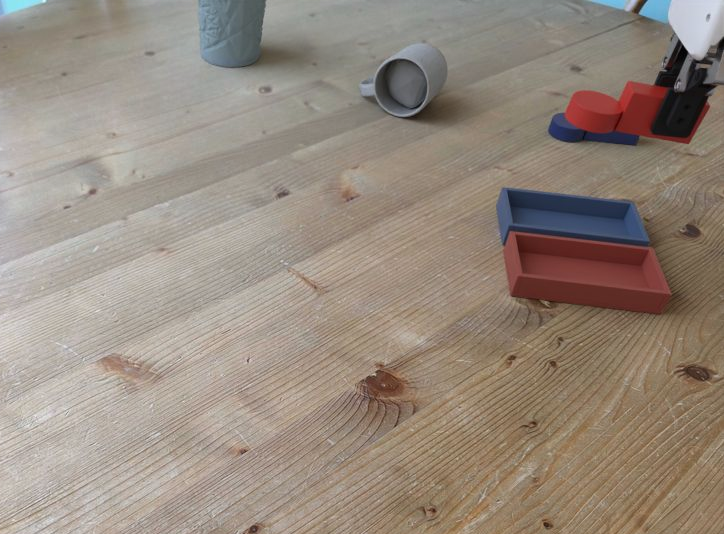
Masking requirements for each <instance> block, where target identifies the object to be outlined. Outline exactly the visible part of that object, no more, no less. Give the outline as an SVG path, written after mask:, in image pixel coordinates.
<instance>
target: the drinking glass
mask: <svg viewBox="0 0 724 534" xmlns="http://www.w3.org/2000/svg"><path fill="white" fill-rule="evenodd" d="M266 2H267V0H197V8H198V10H197V16H198V27H199V28H198V30H199V34H198V35H199V51H200V57H201V59H203V60H204V61H205V62H207V63H208V64H211V65H214V66H217V67H224V68H241V67H246V66H250V65H253V64H254V63H256V62H257V61H258V59H259V57H260V55H261V42H262V39H263V29H264V28H263V25H264V18H265V12H266V10H265V9H266V6H267V3H266Z"/></svg>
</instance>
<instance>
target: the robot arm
mask: <svg viewBox="0 0 724 534" xmlns="http://www.w3.org/2000/svg"><path fill="white" fill-rule="evenodd" d="M667 20H668V22H669V24H670V26H671V28H672V36H671V37H670V43H669V45H668V48H667V50H666V51H665V54H664V56H663V59H662V61H661V65H660V66H661V70H659V71H658V73H657V76H656V79H655V81H654V83H653V85H655V86H661V87H667V88H668V90H667V92H666V94H665V96H664V99H663V101H662V103H661V105H660V107H659V110H658V112H657V114H656V116H655V119H654V121H653V123H652V125H651V128H650V130H651V132H652V134H654V135H660V136H669V137H678V138H687V137H689V136H690V135H691V132H692V130H693V128H694V126H695V124H696V122H697V120H698V118H699V116H700V114H701V112H702V110H703V108H704V106H705V104H706V102H707V101H708V100H709V99H710V97H712V96H713V95H714V93H715V91H716V89H717V87H718V86H719V87H721V86H724V0H671V1H670V4H669V8H668V11H667ZM710 49H712V50H716V52H709V50H710ZM702 65H709V67H708V66H707V67H701V66H702Z"/></svg>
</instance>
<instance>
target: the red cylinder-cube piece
mask: <svg viewBox="0 0 724 534" xmlns="http://www.w3.org/2000/svg"><path fill="white" fill-rule="evenodd" d="M667 90H668V88H667V87H661V86H655V85H654V84H649V83H644V82H639V81H634V80H633V81H632V80H628V81H627V82H626V84H625V86H624V88H623V90H622V93H621V94H620V97H619V99H616V98H614V97H613V96H610V95H608V94H605V93H603V92H598V91H595V90H589V89H588V90H586V89H585V90H584V89H583V90H582V89H581V90H577V91H574V92H573V94H571V98H570V101H569V102H568V105H567V107H566V109H565V112H564V113H565V118H566V119H567V120H568V122H570V123H571V124H572V125H574V126H576V127H578V128H580V129H582V130H585V131H589V132H593V133H609V132H612V131H613V130H615V131H617V132H622V133H628V134H633V135H639V136H640V137H645V138H651V139H656V140H662V141H666V142H667V141H668V142H673V143H677V144H678V143H679V144H684V145H689V144H690V143H691V142H692V140H693V138H694V136H695V134H696V133H697V131H698V129H699V127H700V126H701V124H702V122H703V120H704V119H705V117H706V115H707V113H708V112H709V110H710V108H711V105H710V103H709V102H708V100H707V102H706V104H705V106H704V108H703V110H702V112H701V114H700V116H699V118H698V120H697V122H696V124H695V126H694V128H693V130H692V132H691V135H690V136H689V137H687V138H678V137H669V136H660V135H654V134H652V132H651V130H650V128H651V125H652V123H653V121H654V119H655V116H656V114H657V112H658V110H659V107H660V105H661V103H662V101H663V99H664V96H665V94H666V92H667Z"/></svg>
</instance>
